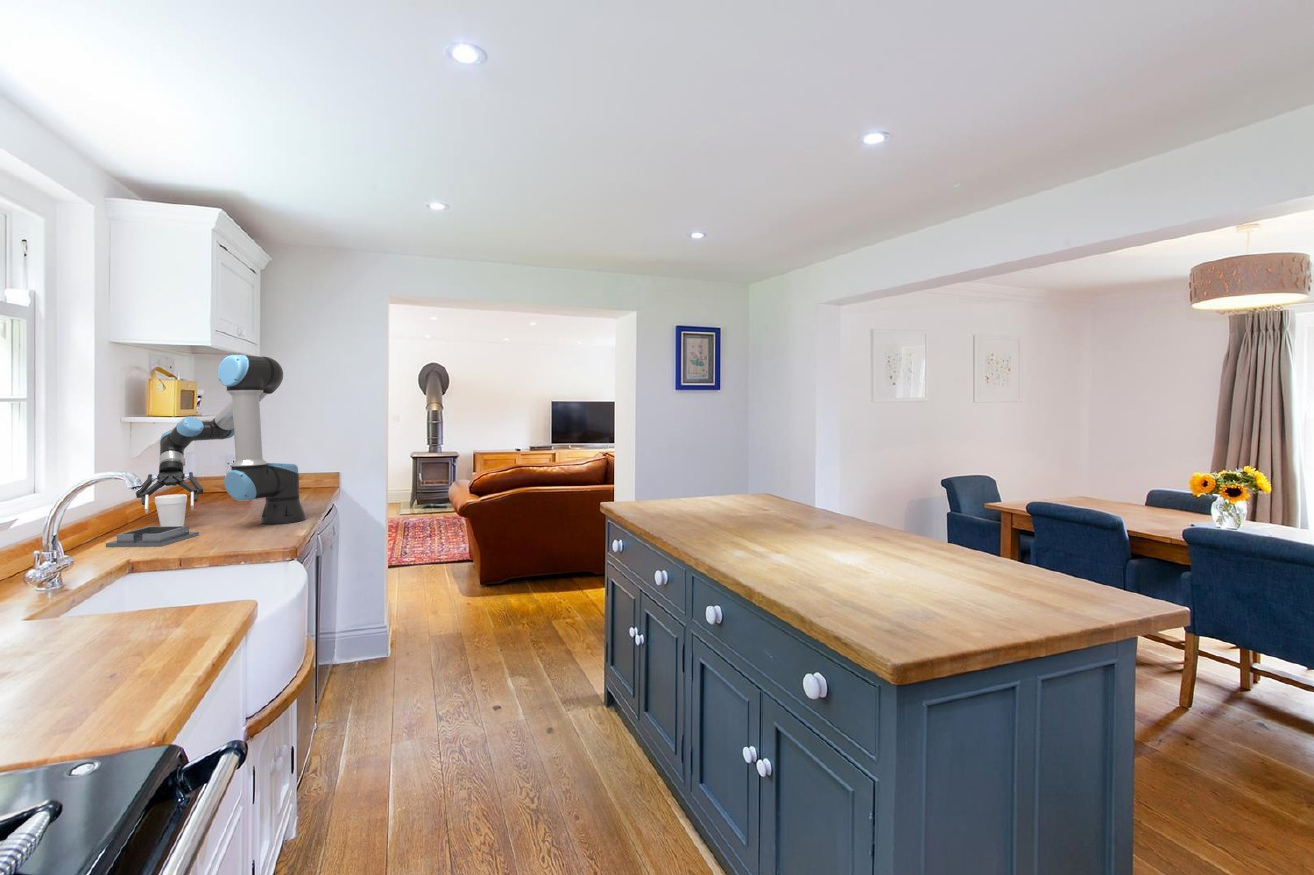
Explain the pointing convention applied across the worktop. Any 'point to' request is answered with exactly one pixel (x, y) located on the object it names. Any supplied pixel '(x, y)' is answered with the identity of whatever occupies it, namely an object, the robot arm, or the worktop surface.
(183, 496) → the foam cup
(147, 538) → the pocket plate
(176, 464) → the robot arm
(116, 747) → the worktop surface
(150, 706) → the worktop surface
